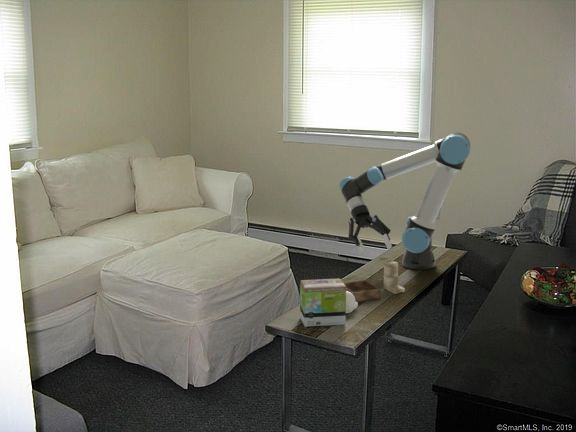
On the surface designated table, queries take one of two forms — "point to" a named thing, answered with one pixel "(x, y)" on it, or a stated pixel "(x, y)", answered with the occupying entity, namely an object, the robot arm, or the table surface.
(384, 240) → the robot arm
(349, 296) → the rabbit
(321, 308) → the tea box
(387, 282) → the beige block
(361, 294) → the open brown box
